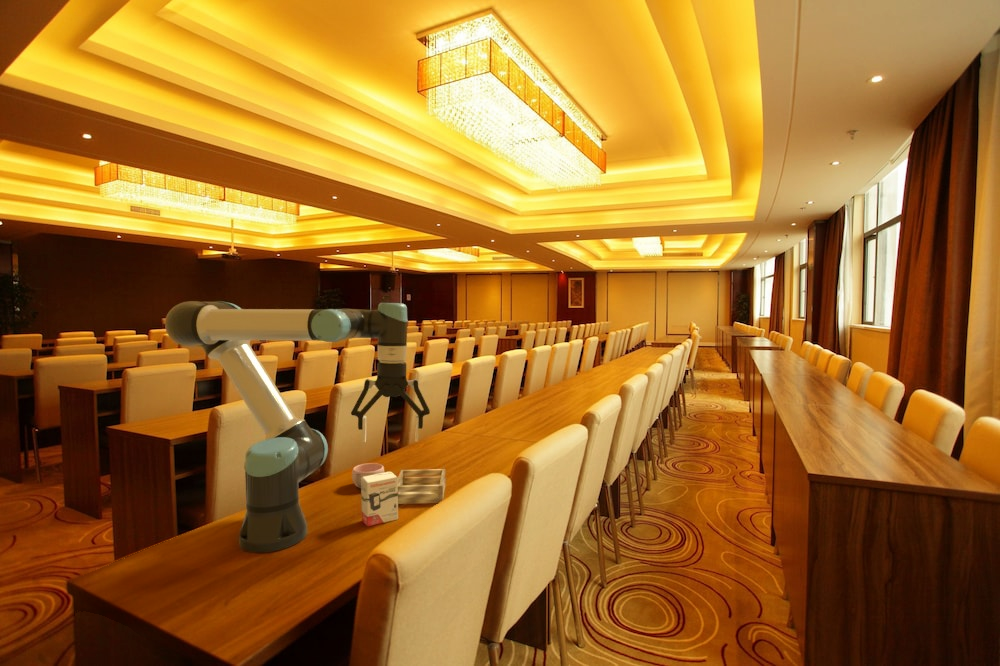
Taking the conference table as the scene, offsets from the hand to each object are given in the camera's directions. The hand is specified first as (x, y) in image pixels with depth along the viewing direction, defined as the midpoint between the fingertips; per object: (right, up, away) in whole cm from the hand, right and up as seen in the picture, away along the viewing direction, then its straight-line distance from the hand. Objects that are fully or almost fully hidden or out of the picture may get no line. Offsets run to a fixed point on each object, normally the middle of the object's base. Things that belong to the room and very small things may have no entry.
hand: (390, 441), depth 131 cm
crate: (+5, -20, +19) cm, 28 cm away
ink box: (-3, -21, 0) cm, 21 cm away
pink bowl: (-12, -20, +27) cm, 35 cm away
